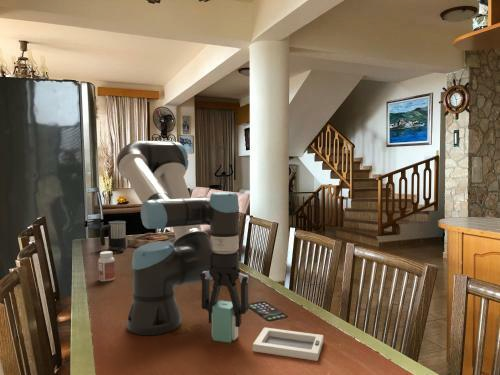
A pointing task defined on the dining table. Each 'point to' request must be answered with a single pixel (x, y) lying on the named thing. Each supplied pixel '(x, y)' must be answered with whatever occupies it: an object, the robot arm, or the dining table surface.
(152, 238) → the decorative book
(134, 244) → the book tray
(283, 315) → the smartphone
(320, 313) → the dining table surface
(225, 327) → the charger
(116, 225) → the milk frother
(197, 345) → the dining table surface
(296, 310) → the dining table surface
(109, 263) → the pill bottle
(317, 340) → the white shallow tray
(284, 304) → the dining table surface
